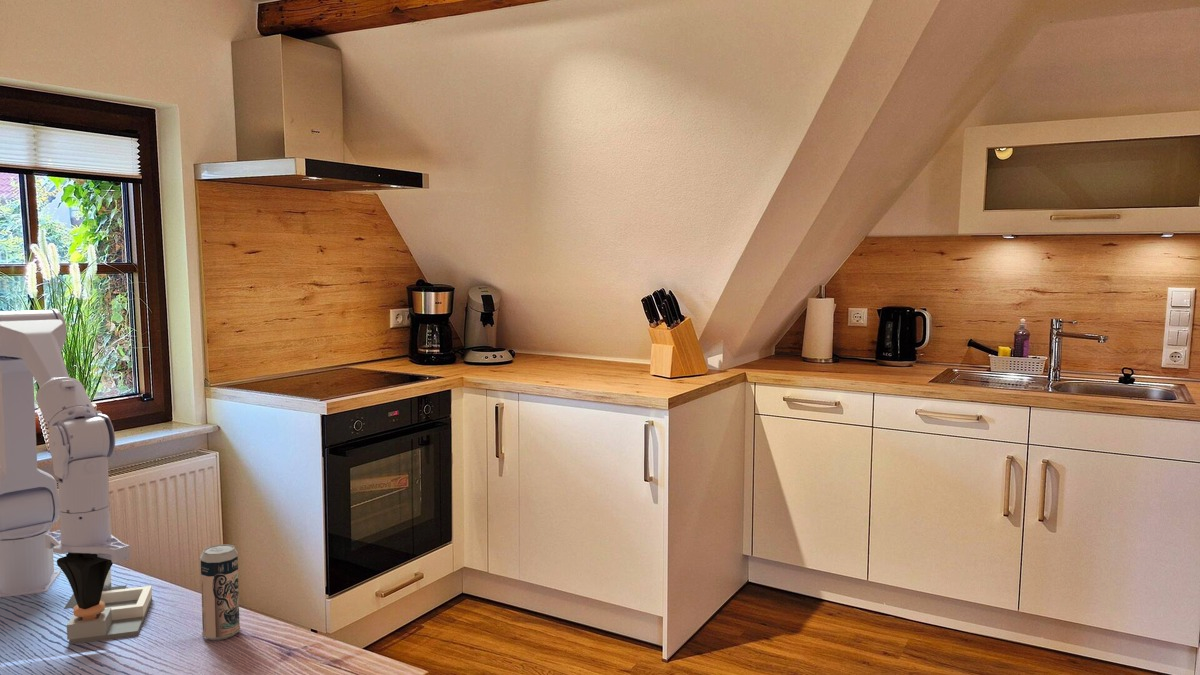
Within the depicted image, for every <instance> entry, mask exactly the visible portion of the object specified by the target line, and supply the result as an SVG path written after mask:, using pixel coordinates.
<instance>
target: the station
mask: <svg viewBox="0 0 1200 675" xmlns="http://www.w3.org/2000/svg"><path fill="white" fill-rule="evenodd" d="M152 588H153V587H152V585H145V586H136V587H128V588H127V587H126V588H125V589H118V590H109V591H102V595H101V599H100V601H103V602H104V603H105V610H104V611H103V612H101V613H99V614H97V615H96V616H97V619H90V620H83V617H76V616H74V613H73V614H72V616H71V617H70V619H69V621H68V622H67V624H66V640H68V641H69V642H68V644H69V645H74V644H75V645H76V644H83V643H91V642H98V641H105V640H106V641H107V640H113V639H121V638H129V637H136V636H137V637H138V636H139V633H140V631H141V629H142V626H143V624H144V621H145V619H146V616H147V614H148V611H149V610H150V609H149V608H150V606H151V603H152V601H153V591H152V590H153V589H152Z"/></svg>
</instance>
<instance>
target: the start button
mask: <svg viewBox="0 0 1200 675" xmlns="http://www.w3.org/2000/svg"><path fill="white" fill-rule="evenodd" d="M72 609H73V610H72V611H73V614H74V616H76V617H83V620H90V619H97V616H96V615H97V614H99V613H101V612H103V611H104V610H105V603H104V602H103V601H100V603H99V604H98V605H96V606H93V607H90V608H88V609H82V608H79V607H78V605H76V606H75V607H74V608H72Z"/></svg>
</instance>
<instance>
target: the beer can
mask: <svg viewBox="0 0 1200 675" xmlns="http://www.w3.org/2000/svg"><path fill="white" fill-rule="evenodd" d="M238 557H239V552H238V551H237V549H236V547H235V545H232V544H215V545H211V546H208V547H206V548H204V549H203V550H202V553H201V555H200V557H199V561H200V580H201V583H200V584H201V585H200V588H201V614H202V615H201V616H202V622H201V624H202V632H201V635H202V636H203V638H206V639H208V640H212V641H223V640H226V639H229V638H231V637H234V636H235V635H236V634H238V632H239V631H240V630H241V626H240V596H239V595H240V592H239V590H240V589H239V587H240V586H239V558H238Z"/></svg>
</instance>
